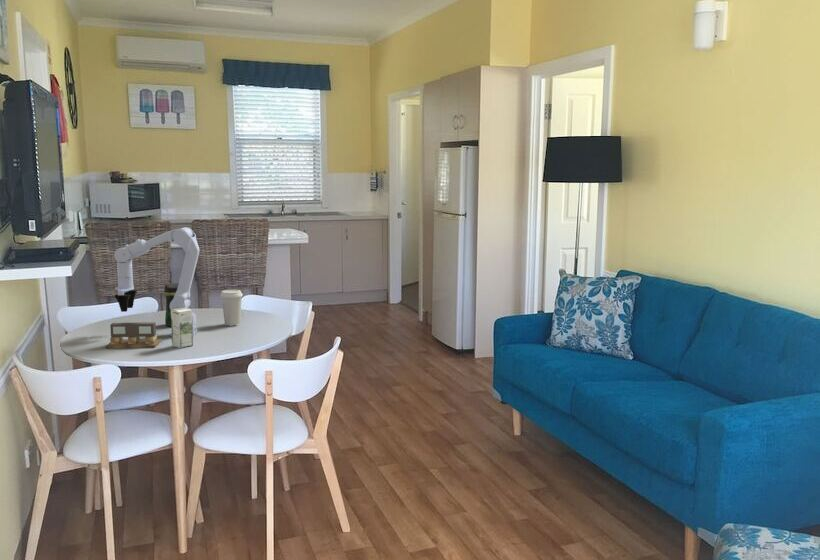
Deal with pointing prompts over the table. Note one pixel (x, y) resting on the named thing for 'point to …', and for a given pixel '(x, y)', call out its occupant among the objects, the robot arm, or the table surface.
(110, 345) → the display stand
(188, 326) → the syrup box
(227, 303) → the coffee cup
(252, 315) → the table surface
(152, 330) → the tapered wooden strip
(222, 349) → the table surface
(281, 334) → the table surface
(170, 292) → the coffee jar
